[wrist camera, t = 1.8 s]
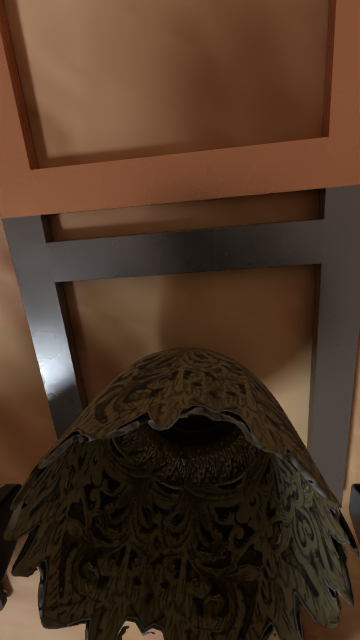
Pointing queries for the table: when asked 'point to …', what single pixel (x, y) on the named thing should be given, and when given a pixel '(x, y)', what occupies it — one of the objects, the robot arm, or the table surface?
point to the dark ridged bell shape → (183, 511)
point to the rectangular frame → (199, 233)
